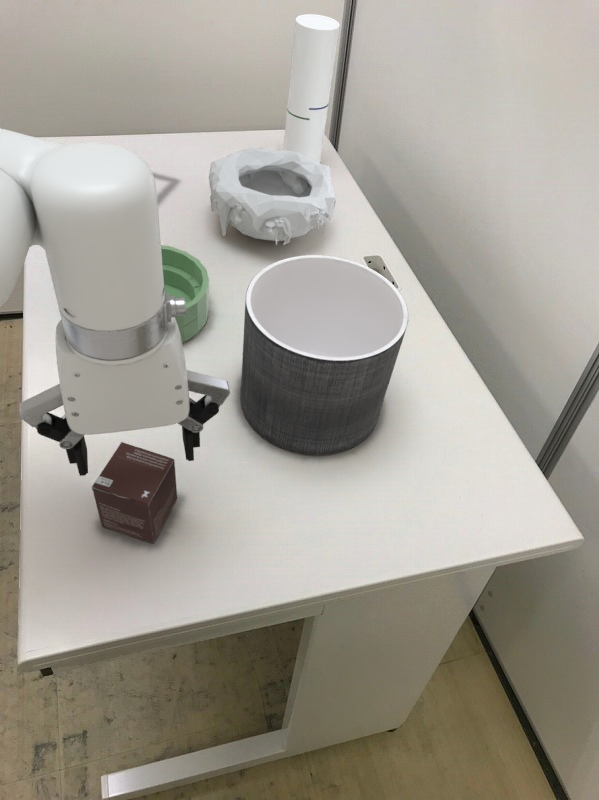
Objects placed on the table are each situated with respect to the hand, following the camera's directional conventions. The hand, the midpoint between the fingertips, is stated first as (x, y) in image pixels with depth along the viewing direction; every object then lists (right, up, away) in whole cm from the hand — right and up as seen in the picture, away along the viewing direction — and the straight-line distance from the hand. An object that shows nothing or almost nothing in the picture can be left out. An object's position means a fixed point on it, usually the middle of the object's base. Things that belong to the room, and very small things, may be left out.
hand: (137, 456), depth 60 cm
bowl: (+10, +34, +46) cm, 58 cm away
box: (-2, -7, +7) cm, 10 cm away
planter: (+17, +5, +21) cm, 27 cm away
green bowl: (-5, +17, +29) cm, 34 cm away
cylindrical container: (+15, +49, +61) cm, 80 cm away
